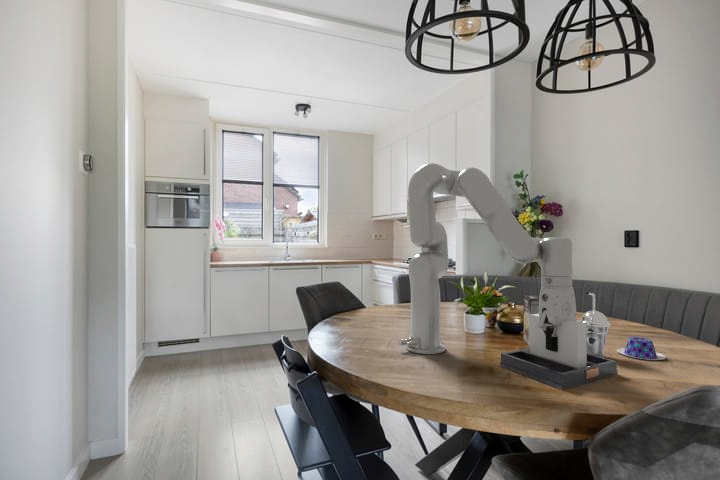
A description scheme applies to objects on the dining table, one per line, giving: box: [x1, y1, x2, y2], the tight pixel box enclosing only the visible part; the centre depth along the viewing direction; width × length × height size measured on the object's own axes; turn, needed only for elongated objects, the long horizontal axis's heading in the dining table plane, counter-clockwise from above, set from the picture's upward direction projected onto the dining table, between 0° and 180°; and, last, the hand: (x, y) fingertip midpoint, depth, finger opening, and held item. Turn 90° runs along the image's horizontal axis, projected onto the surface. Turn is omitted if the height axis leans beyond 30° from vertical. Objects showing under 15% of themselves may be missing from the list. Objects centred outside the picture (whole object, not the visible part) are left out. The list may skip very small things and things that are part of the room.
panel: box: [529, 314, 587, 368], centre depth 99 cm, size 4×14×12 cm, turn 27°
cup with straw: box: [578, 291, 612, 358], centre depth 111 cm, size 8×9×20 cm
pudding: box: [616, 336, 667, 361], centre depth 112 cm, size 12×12×5 cm
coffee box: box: [523, 295, 540, 347], centre depth 124 cm, size 9×6×16 cm
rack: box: [499, 347, 619, 391], centre depth 98 cm, size 23×19×4 cm
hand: (556, 348), depth 99 cm, fingers closed on panel, 3 cm apart
